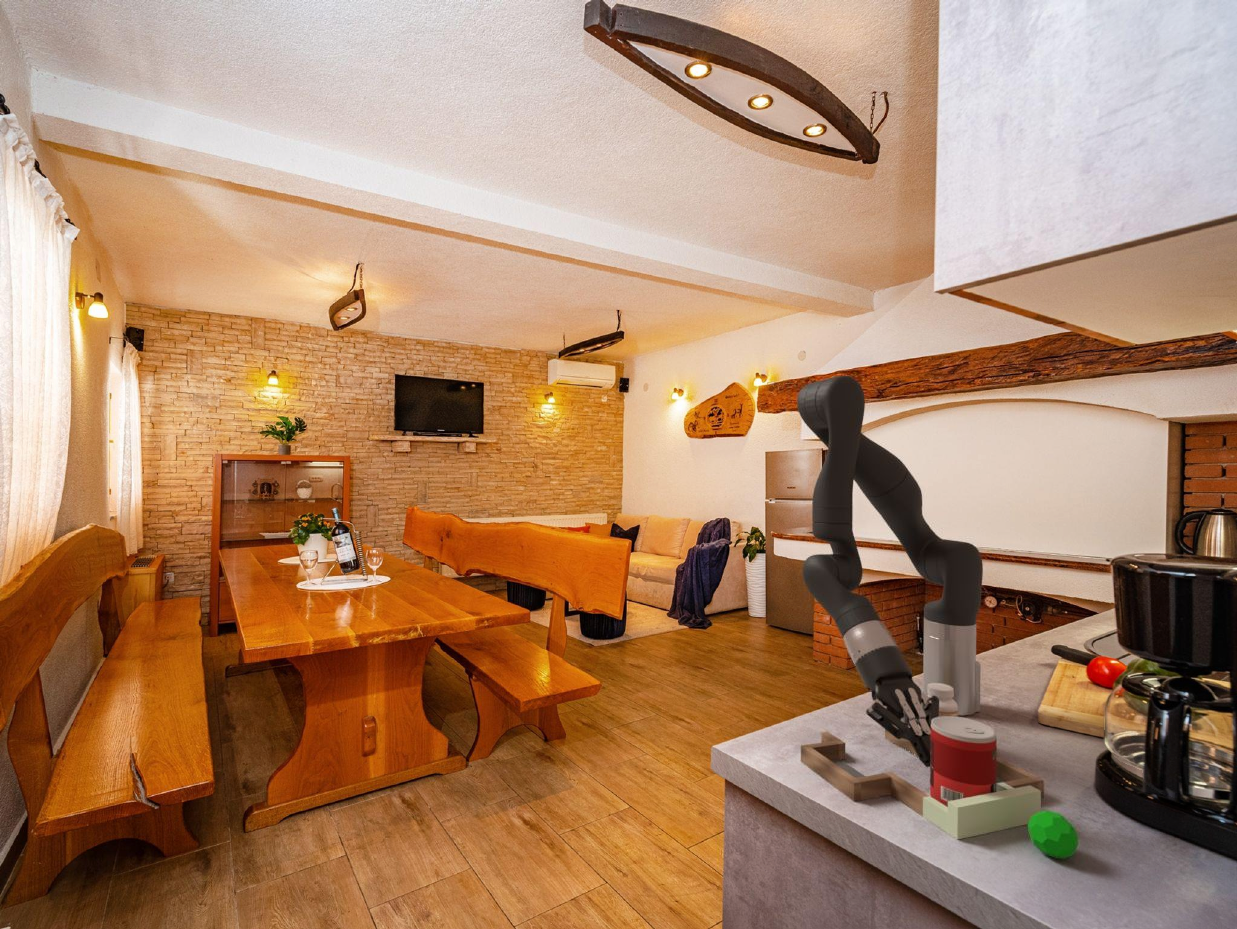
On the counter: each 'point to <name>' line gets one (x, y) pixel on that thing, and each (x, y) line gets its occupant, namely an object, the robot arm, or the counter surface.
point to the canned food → (961, 759)
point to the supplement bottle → (944, 698)
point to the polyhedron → (1053, 834)
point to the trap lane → (889, 773)
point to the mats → (858, 774)
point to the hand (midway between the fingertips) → (934, 764)
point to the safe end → (984, 811)
